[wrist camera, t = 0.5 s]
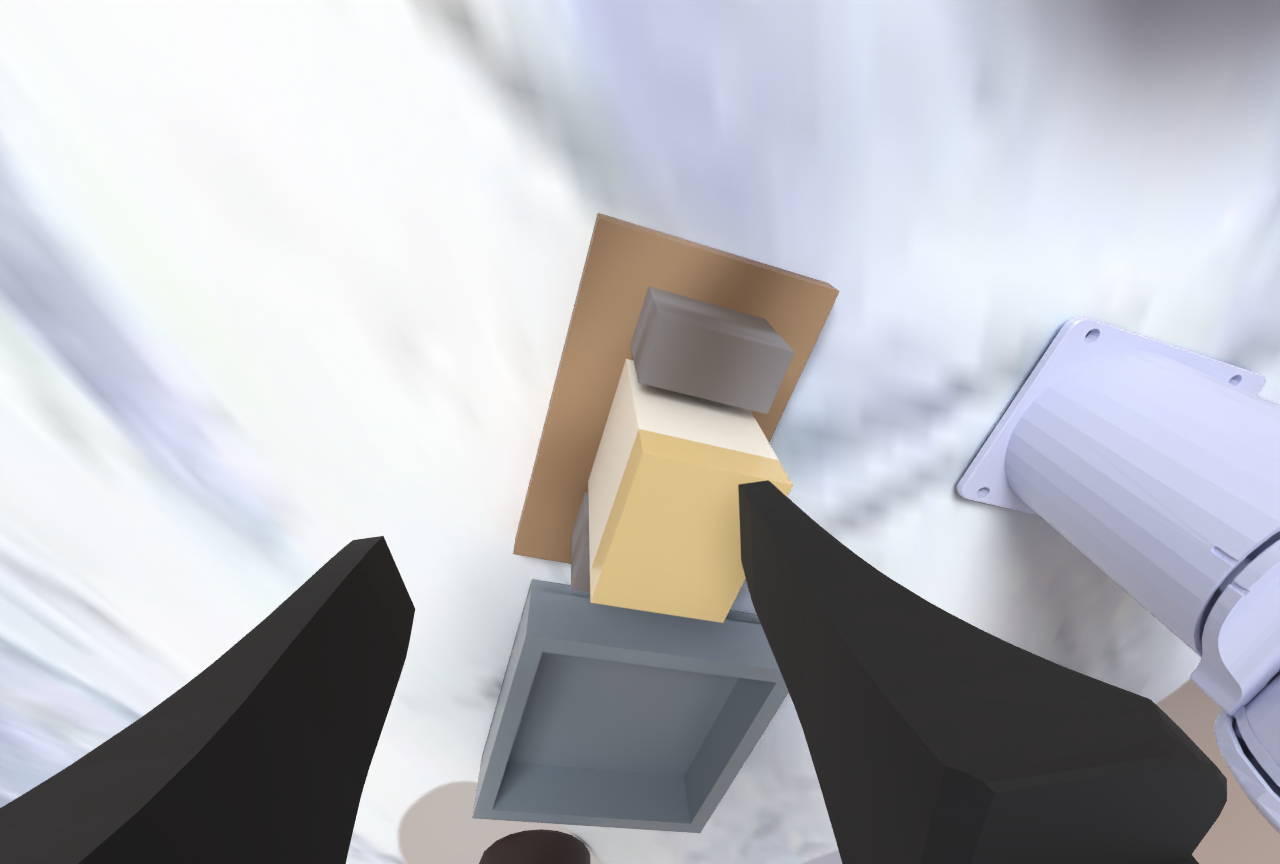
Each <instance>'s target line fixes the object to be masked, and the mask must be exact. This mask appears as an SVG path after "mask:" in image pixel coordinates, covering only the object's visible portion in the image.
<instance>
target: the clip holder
mask: <svg viewBox="0 0 1280 864" xmlns="http://www.w3.org/2000/svg"><path fill="white" fill-rule="evenodd" d="M838 293H839V291H838V290H837V289H835V288H834V287H833V286H831V285H830V284H828V283H825V282H822V281H819V280H816V279H812V278H809V277H806V276H803V275H799V274H796V273H793V272H789V271H786V270H783V269H780V268H776V267H773V266H770V265H767V264H763V263H760V262H757V261H753V260H750V259H747V258H744V257H740V256H737V255H734V254H731V253H727V252H724V251H721V250H717V249H714V248H711V247H708V246H704V245H701V244H698V243H695V242H691V241H688V240H685V239H681V238H678V237H675V236H672V235H668V234H665V233H662V232H659V231H655V230H652V229H649V228H645V227H642V226H639V225H636V224H632V223H629V222H626V221H622V220H619V219H616V218H613V217H609V216H606V215H603V214H600V213H598V214H597V218H596V222H595V226H594V230H593V234H592V238H591V242H590V246H589V250H588V254H587V258H586V262H585V266H584V270H583V274H582V278H581V282H580V286H579V289H578V293H577V297H576V301H575V305H574V309H573V313H572V317H571V321H570V325H569V329H568V333H567V337H566V341H565V345H564V349H563V353H562V357H561V361H560V365H559V369H558V372H557V376H556V380H555V384H554V388H553V392H552V396H551V400H550V404H549V408H548V412H547V416H546V420H545V424H544V428H543V432H542V436H541V440H540V444H539V448H538V452H537V455H536V459H535V463H534V467H533V471H532V475H531V479H530V483H529V487H528V491H527V495H526V499H525V503H524V507H523V511H522V515H521V519H520V523H519V527H518V531H517V535H516V539H515V546H514V552H513V554H516V555H522V556H528V557H534V558H540V559H547V560H553V561H559V562H565V563H571V590H577V591H584V592H590V550H589V496H588V481H589V477H590V474H591V471H592V468H593V464H594V461H595V458H596V455H597V451H598V448H599V445H600V442H601V438H602V435H603V432H604V429H605V426H606V422H607V419H608V416H609V413H610V409H611V406H612V403H613V400H614V396H615V393H616V390H617V387H618V383H619V380H620V377H621V374H622V371H623V367H624V364H625V361H626V359H629V360H633V361H634V365H635V369H636V374H637V379H638V383H641V384H645V385H649V386H653V387H658V388H662V389H666V390H670V391H674V392H678V393H682V394H686V395H691V396H695V397H699V398H703V399H707V400H711V401H715V402H719V403H724V404H728V405H732V406H736V407H740V408H744V409H748V410H751V412H752V414H753V416H754V417H755V419H756V421H757V423H758V424H759V426H760V428H761V430H762V432H763V433H764V435H765V437H766V439H767V440H768V442H770V439H771V437H772V435H773V433H774V431H775V429H776V427H777V424H778V422H779V420H780V418H781V416H782V414H783V412H784V409H785V407H786V405H787V403H788V401H789V399H790V396H791V394H792V392H793V390H794V388H795V386H796V384H797V381H798V379H799V377H800V375H801V373H802V371H803V369H804V366H805V364H806V362H807V360H808V358H809V356H810V354H811V351H812V349H813V347H814V345H815V343H816V341H817V338H818V336H819V334H820V332H821V330H822V328H823V326H824V323H825V321H826V319H827V317H828V315H829V313H830V311H831V308H832V306H833V304H834V302H835V300H836V298H837V295H838Z"/></svg>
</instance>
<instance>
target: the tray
mask: <svg viewBox="0 0 1280 864" xmlns="http://www.w3.org/2000/svg"><path fill="white" fill-rule="evenodd" d="M788 693H789V691H788V689H787V686H786V684H785V682H784V679H783V677H782V674H781V672H780V669H779V667H778V665H777V662H776V660H775V657H774V655H773V652H772V650H771V648H770V645H769V643H768V640H767V638H766V635H765V633H764V630H763V628H762V625H761V623H760V621H759V618H758V616H757V615H754V614H748V613H741V612H735V611H729V612H728V614H727V616H726V618H725V620H724V622H723V623H721V622H714V621H708V620H701V619H694V618H688V617H681V616H675V615H668V614H662V613H655V612H648V611H642V610H635V609H629V608H622V607H616V606H609V605H602V604H596V603H590V592H584V591H577V590H571V586H570V585H564V584H558V583H551V582H545V581H539V580H532V581H531V585H530V588H529V592H528V595H527V599H526V602H525V606H524V609H523V613H522V617H521V620H520V624H519V627H518V631H517V634H516V638H515V641H514V645H513V648H512V652H511V656H510V659H509V663H508V666H507V670H506V673H505V677H504V680H503V684H502V688H501V691H500V695H499V698H498V702H497V705H496V709H495V712H494V716H493V720H492V723H491V727H490V730H489V734H488V737H487V741H486V744H485V748H484V752H483V755H482V760H481V766H480V773H479V779H478V786H477V793H476V799H475V806H474V812H473V818H478V819H492V820H508V821H523V822H538V823H539V822H540V823H554V824H569V825H584V826H600V827H615V828H630V829H646V830H661V831H677V832H692V833H700V832H701V831H702V829H703V828H704V826H705V824H706V823H707V821H708V820H709V818H710V816H711V815H712V813H713V812H714V810H715V809H716V807H717V805H718V804H719V802H720V801H721V799H722V797H723V796H724V794H725V793H726V791H727V789H728V788H729V786H730V785H731V783H732V781H733V780H734V778H735V777H736V775H737V774H738V772H739V770H740V769H741V767H742V766H743V764H744V762H745V761H746V759H747V758H748V756H749V754H750V753H751V751H752V750H753V748H754V747H755V745H756V743H757V742H758V740H759V739H760V737H761V735H762V734H763V732H764V731H765V729H766V727H767V726H768V724H769V723H770V721H771V720H772V718H773V716H774V715H775V713H776V712H777V710H778V708H779V707H780V705H781V704H782V702H783V700H784V699H785V697H786V696H787V694H788Z"/></svg>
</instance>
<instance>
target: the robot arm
mask: <svg viewBox="0 0 1280 864" xmlns="http://www.w3.org/2000/svg"><path fill="white" fill-rule="evenodd" d="M1090 330H1091V332H1090V334H1089V335H1088V336H1087V337H1086V338H1085V336H1086V334H1087V333H1088V332H1089V331H1090ZM1265 382H1266V380H1265V377H1264V376H1262V375H1260V374H1258V373H1255V372H1252V371H1249V370H1246V369H1243V368H1240V367H1237V366H1234V365H1231V364H1228V363H1225V362H1222V361H1219V360H1215V359H1212V358H1209V357H1206V356H1203V355H1200V354H1197V353H1194V352H1191V351H1188V350H1185V349H1182V348H1179V347H1176V346H1173V345H1170V344H1167V343H1163V342H1160V341H1157V340H1154V339H1151V338H1148V337H1145V336H1142V335H1139V334H1136V333H1133V332H1130V331H1127V330H1124V329H1121V328H1118V327H1115V326H1112V325H1108V324H1105V323H1102V322H1099V321H1096V320H1093V319H1090V318H1087V317H1084V316H1076V317H1072V318H1071V319H1069V320H1068V321H1067V322H1066V323H1065V324H1064V325H1063V327H1062V328H1061V330H1060V331H1059V333H1058V334H1057V336H1056V337H1055V339H1054V340H1053V342H1052V343H1051V345H1050V346H1049V348H1048V349H1047V351H1046V352H1045V354H1044V355H1043V357H1042V358H1041V360H1040V361H1039V363H1038V364H1037V366H1036V367H1035V369H1034V370H1033V372H1032V373H1031V375H1030V376H1029V378H1028V379H1027V381H1026V382H1025V384H1024V385H1023V387H1022V388H1021V390H1020V391H1019V393H1018V394H1017V396H1016V397H1015V399H1014V400H1013V402H1012V403H1011V405H1010V406H1009V408H1008V409H1007V411H1006V412H1005V414H1004V415H1003V417H1002V418H1001V420H1000V421H999V423H998V424H997V426H996V427H995V429H994V430H993V432H992V433H991V435H990V436H989V438H988V439H987V441H986V442H985V444H984V445H983V447H982V448H981V450H980V451H979V453H978V454H977V456H976V457H975V459H974V460H973V462H972V463H971V465H970V466H969V468H968V469H967V471H966V472H965V474H964V475H963V477H962V478H961V480H960V481H959V483H958V485H957V491H958V493H959V494H960V495H961V496H962V497H963V498H965V499H968V500H973V501H977V502H982V503H986V504H990V505H995V506H999V507H1004V508H1008V509H1013V510H1017V511H1021V512H1026V513H1030V514H1035V515H1039V516H1041V517H1042V518H1043V519H1044V520H1045V521H1046V522H1048V523H1049V524H1050V525H1051V526H1052V527H1053V528H1054V529H1055V530H1057V531H1058V532H1059V533H1060V534H1061V535H1062V536H1063V537H1065V538H1066V539H1067V540H1068V541H1069V542H1070V543H1071V544H1073V545H1074V546H1075V547H1076V548H1077V549H1078V550H1079V551H1080V552H1082V553H1083V554H1084V555H1085V556H1086V557H1087V558H1088V559H1090V560H1091V561H1092V562H1093V563H1094V564H1095V565H1096V566H1098V567H1099V568H1100V569H1101V570H1102V571H1103V572H1104V573H1105V574H1107V575H1108V576H1109V577H1110V578H1111V579H1112V580H1113V581H1115V582H1116V583H1117V584H1118V585H1119V586H1120V587H1121V588H1123V589H1124V590H1125V591H1126V592H1127V593H1128V594H1129V595H1130V596H1132V597H1133V598H1134V599H1135V600H1136V601H1137V602H1138V603H1140V604H1141V605H1142V606H1143V607H1144V608H1145V609H1146V610H1148V611H1149V612H1150V613H1151V614H1152V615H1153V616H1154V617H1156V618H1157V619H1158V620H1159V621H1160V622H1161V623H1162V624H1163V625H1165V626H1166V627H1167V628H1168V629H1169V630H1170V631H1171V632H1173V633H1174V634H1175V635H1176V636H1177V637H1178V638H1179V639H1181V640H1182V641H1183V642H1184V643H1185V644H1186V645H1187V646H1188V647H1190V648H1191V649H1192V650H1193V651H1194V652H1195V653H1196V654H1198V655H1199V656H1200V657H1201V661H1200V663H1199V664H1198V666H1197V668H1196V669H1195V670H1194V672H1193V673H1192V674H1191V676H1190V679H1191V680H1192V681H1193V682H1194V683H1195V684H1196V685H1197V686H1198V687H1199V688H1201V690H1203V691H1204V692H1205V693H1206V694H1207V695H1208V696H1209V697H1210V698H1211V699H1212V700H1213V701H1214V702H1216V703H1217V704H1218V705H1219V706H1220V707H1221V708H1222V710H1221V711H1220V712H1219V714H1218V716H1217V718H1216V721H1215V726H1214V730H1215V731H1214V735H1215V738H1216V742H1217V745H1218V748H1219V750H1220V752H1221V754H1222V756H1223V758H1224V760H1225V762H1226V764H1227V766H1228V768H1229V769H1230V771H1231V772H1232V774H1233V775H1234V777H1235V778H1236V780H1237V781H1238V783H1239V785H1240V786H1241V788H1242V789H1243V791H1244V792H1245V794H1246V795H1247V797H1248V798H1249V799H1250V801H1251V802H1252V803H1253V805H1254V806H1255V807H1256V808H1257V810H1258V811H1259V812H1260V813H1261V814H1262V816H1263V817H1264V818H1265V819H1266V820H1267V821H1268V822H1269V823H1270V824H1271V826H1272V827H1273V828H1274V829H1275V830H1276V831H1277V832H1278V833H1279V834H1280V405H1279V404H1276V403H1274V402H1272V401H1269V400H1267V399H1264V398H1262V397H1260V396H1257V395H1258V393H1259V392H1260V391H1261V390H1262V389H1263V387H1264V385H1265ZM981 488H982V489H981ZM980 489H981V490H980ZM979 490H980V491H979ZM738 491H739V517H740V543H741V562H742V566H743V570H744V573H745V577H746V581H747V585H748V588H749V592H750V595H751V599H752V602H753V606H754V608H755V611H756V613H757V616H758V618H759V621H760V623H761V625H762V628H763V630H764V633H765V635H766V638H767V640H768V643H769V645H770V648H771V650H772V652H773V655H774V657H775V660H776V662H777V665H778V667H779V669H780V672H781V674H782V677H783V679H784V682H785V684H786V686H787V689H788V691H789V694H790V696H791V699H792V701H793V703H794V706H795V709H796V711H797V714H798V717H799V720H800V722H801V725H802V728H803V731H804V734H805V738H806V741H807V744H808V747H809V751H810V754H811V757H812V761H813V764H814V767H815V770H816V774H817V777H818V780H819V784H820V787H821V790H822V794H823V797H824V801H825V804H826V808H827V811H828V814H829V818H830V821H831V825H832V828H833V831H834V835H835V838H836V842H837V846H838V849H839V852H840V856H841V859H842V863H843V864H1199V863H1198V862H1197V861H1196V860H1195V858H1194V857H1193V856H1192V855H1191V854H1192V853H1193V852H1194V850H1195V849H1196V847H1197V846H1198V845H1199V843H1200V842H1201V840H1202V839H1203V838H1204V836H1205V835H1206V833H1207V832H1208V831H1209V829H1210V828H1211V827H1212V825H1213V824H1214V822H1215V821H1216V820H1217V818H1218V817H1219V815H1220V813H1221V811H1222V809H1223V807H1224V805H1225V803H1226V801H1227V779H1226V777H1225V776H1224V775H1223V774H1222V773H1221V771H1220V770H1219V769H1218V768H1217V766H1216V765H1215V764H1214V763H1213V762H1212V761H1211V760H1210V759H1209V758H1208V757H1207V756H1206V755H1205V754H1204V753H1203V752H1202V751H1201V750H1200V749H1199V747H1198V746H1197V745H1196V744H1195V743H1194V742H1193V741H1192V740H1191V739H1190V738H1189V737H1188V736H1187V735H1186V734H1185V733H1184V732H1183V730H1182V729H1180V727H1179V726H1177V725H1176V724H1175V723H1174V722H1173V721H1172V720H1171V719H1170V718H1169V717H1168V716H1167V715H1166V714H1165V713H1164V712H1163V711H1162V710H1161V709H1160V708H1159V707H1158V706H1157V705H1156V704H1155V703H1153V702H1152V700H1150V699H1148V698H1145V697H1142V696H1140V695H1137V694H1134V693H1132V692H1129V691H1126V690H1124V689H1121V688H1118V687H1116V686H1113V685H1110V684H1108V683H1105V682H1102V681H1100V680H1097V679H1094V678H1092V677H1089V676H1086V675H1084V674H1081V673H1078V672H1075V671H1073V670H1070V669H1068V668H1065V667H1063V666H1060V665H1058V664H1055V663H1053V662H1051V661H1049V660H1046V659H1044V658H1042V657H1039V656H1037V655H1035V654H1032V653H1030V652H1028V651H1026V650H1023V649H1021V648H1019V647H1016V646H1014V645H1012V644H1010V643H1008V642H1006V641H1003V640H1001V639H999V638H997V637H995V636H993V635H991V634H989V633H987V632H984V631H982V630H981V629H979V628H977V627H975V626H973V625H971V624H969V623H967V622H965V621H963V620H961V619H959V618H957V617H955V616H953V615H952V614H950V613H948V612H946V611H944V610H942V609H940V608H939V607H937V606H935V605H933V604H931V603H930V602H928V601H926V600H924V599H923V598H921V597H920V596H918V595H916V594H915V593H913V592H911V591H910V590H908V589H906V588H905V587H903V586H902V585H900V584H898V583H897V582H895V581H893V580H892V579H890V578H889V577H887V576H886V575H884V574H883V573H881V572H880V571H878V570H877V569H875V568H874V567H873V566H871V565H870V564H868V563H867V562H866V561H864V560H863V559H862V558H860V557H859V556H857V555H856V554H855V553H853V552H852V551H851V550H849V549H848V548H847V547H846V546H844V545H843V544H842V543H840V542H839V541H838V540H837V539H836V538H834V537H833V536H832V535H831V534H829V533H828V532H827V531H826V530H824V529H823V528H822V527H821V526H820V525H818V524H817V523H816V522H815V521H814V520H812V519H811V518H810V517H809V516H808V515H807V514H806V513H804V512H803V511H802V510H801V509H800V508H799V507H798V506H797V505H795V504H794V503H793V502H792V501H791V500H790V499H789V498H788V497H787V496H786V495H784V494H783V493H782V492H781V491H780V490H779V489H778V488H777V487H776V486H775V485H774V484H772V483H771V482H770V481H768V480H766V481H759V482H752V483H745V484H739V485H738ZM414 612H415V608H414V605H413V603H412V601H411V598H410V596H409V594H408V592H407V589H406V587H405V585H404V582H403V580H402V578H401V575H400V573H399V571H398V569H397V566H396V564H395V562H394V559H393V557H392V555H391V553H390V550H389V548H388V546H387V543H386V541H385V539H384V537H383V536H379V537H372V538H366V539H359V540H353V541H352V542H350V543H349V544H348V545H347V546H345V547H344V548H343V549H342V550H341V551H339V552H338V553H337V554H336V555H335V556H334V557H333V558H331V559H330V560H329V561H328V562H327V563H326V564H325V565H324V566H323V567H322V568H320V569H319V570H318V571H317V572H316V573H315V574H314V575H313V576H312V577H311V578H310V579H308V580H307V581H306V582H305V583H304V584H303V585H302V586H301V587H300V588H299V589H298V590H296V591H295V592H294V593H293V594H292V595H291V596H290V597H289V598H288V599H287V600H285V601H284V602H283V603H282V604H281V605H280V606H279V607H278V608H277V609H276V610H274V611H273V612H272V613H271V614H270V615H269V616H268V617H267V618H266V619H264V620H263V621H262V622H261V623H260V624H259V625H257V626H256V627H255V628H254V629H253V630H252V631H250V632H249V633H248V634H247V635H246V636H245V637H243V638H242V639H241V640H240V641H239V642H237V643H236V644H235V645H234V646H233V647H232V648H230V649H229V650H228V651H227V652H226V653H225V654H223V655H222V656H221V657H220V658H219V659H218V660H216V661H215V662H214V663H213V664H211V665H210V666H209V667H208V668H206V669H205V670H204V671H203V672H201V673H200V674H199V675H198V676H196V677H195V678H194V679H192V680H191V681H190V682H189V683H187V684H186V685H185V686H183V687H182V688H181V689H179V690H178V691H177V692H175V693H174V694H173V695H171V696H170V697H169V698H167V699H166V700H165V701H163V702H162V703H161V704H159V705H158V706H157V707H155V708H154V709H153V710H151V711H150V712H148V713H147V714H146V715H144V716H143V717H141V718H140V719H139V720H137V721H136V722H134V723H133V724H131V725H130V726H128V727H127V728H125V729H124V730H122V731H121V732H119V733H118V734H116V735H115V736H113V737H112V738H110V739H109V740H107V741H106V742H104V743H103V744H101V745H100V746H98V747H97V748H95V749H94V750H92V751H91V752H89V753H88V754H86V755H85V756H84V757H82V758H81V759H79V760H78V761H76V762H75V763H73V764H72V765H70V766H68V767H67V768H65V769H64V770H62V771H61V772H59V773H57V774H56V775H54V776H53V777H51V778H49V779H48V780H46V781H44V782H43V783H41V784H40V785H38V786H36V787H35V788H33V789H32V790H30V791H28V792H27V793H25V794H23V795H22V796H20V797H18V798H17V799H15V800H13V801H12V802H10V803H8V804H7V805H5V806H3V807H2V808H0V864H346V859H347V854H348V850H349V846H350V841H351V837H352V833H353V828H354V824H355V820H356V815H357V811H358V807H359V802H360V798H361V794H362V791H363V787H364V784H365V780H366V777H367V774H368V770H369V767H370V764H371V761H372V758H373V755H374V752H375V749H376V746H377V743H378V740H379V737H380V734H381V731H382V728H383V726H384V723H385V720H386V717H387V714H388V711H389V708H390V705H391V702H392V699H393V696H394V693H395V690H396V687H397V684H398V681H399V678H400V675H401V672H402V668H403V665H404V662H405V659H406V655H407V650H408V645H409V641H410V636H411V630H412V624H413V618H414Z"/></svg>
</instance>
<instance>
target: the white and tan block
mask: <svg viewBox="0 0 1280 864" xmlns="http://www.w3.org/2000/svg"><path fill="white" fill-rule="evenodd" d="M766 480H768V481H770V482H771V483H772V484H774V485H775V486H776V487H777V488H778V489H779V490H780V491H781V492H782V493H783V494H784V495H786V496H788V494H789V492H790V490H791V488H792V486H793V484H792V483H791V481H790V479H789V477H788V476H787V474H786V472H785V470H784V468H783V467H782V465H781V463H780V461H779V460H778V458H777V456H776V454H775V453H774V451H773V449H772V447H771V446H770V444H769V442H768V440H767V439H766V437H765V435H764V433H763V432H762V430H761V428H760V426H759V424H758V423H757V421H756V419H755V417H754V416H753V414H752V412H751V410H748V409H744V408H740V407H736V406H732V405H728V404H724V403H719V402H715V401H711V400H707V399H703V398H699V397H695V396H691V395H686V394H682V393H678V392H674V391H670V390H666V389H662V388H658V387H653V386H649V385H645V384H641V383H638V379H637V374H636V369H635V365H634V361H633V360H629V359H626V361H625V364H624V367H623V371H622V374H621V377H620V380H619V383H618V387H617V390H616V393H615V396H614V400H613V403H612V406H611V409H610V413H609V416H608V419H607V422H606V426H605V429H604V432H603V435H602V438H601V442H600V445H599V448H598V451H597V455H596V458H595V461H594V464H593V468H592V471H591V474H590V477H589V481H588V496H589V550H590V603H596V604H602V605H609V606H616V607H622V608H629V609H635V610H642V611H648V612H655V613H662V614H668V615H675V616H681V617H688V618H694V619H701V620H708V621H714V622H721V623H723V622H724V620H725V618H726V616H727V614H728V612H729V610H730V608H731V606H732V604H733V603H734V601H735V599H736V597H737V595H738V593H739V591H740V589H741V587H742V585H743V583H744V581H745V579H746V577H745V573H744V570H743V566H742V562H741V543H740V517H739V491H738V485H739V484H745V483H752V482H759V481H766Z"/></svg>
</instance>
